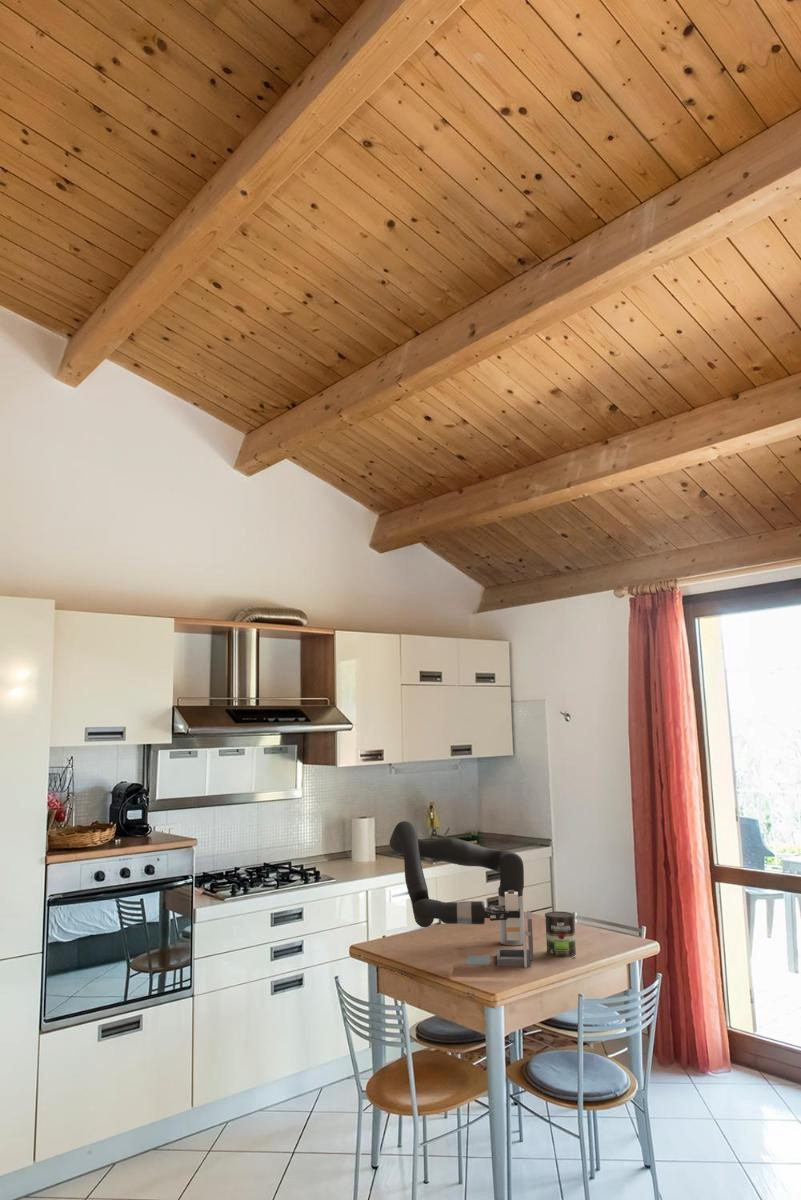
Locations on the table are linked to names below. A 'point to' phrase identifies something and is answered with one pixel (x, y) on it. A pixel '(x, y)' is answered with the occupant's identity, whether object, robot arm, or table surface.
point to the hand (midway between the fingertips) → (519, 912)
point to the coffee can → (560, 934)
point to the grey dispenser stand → (518, 950)
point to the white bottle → (512, 923)
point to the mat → (478, 960)
